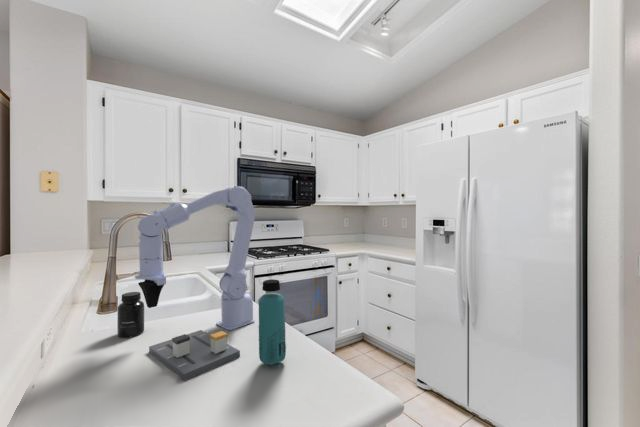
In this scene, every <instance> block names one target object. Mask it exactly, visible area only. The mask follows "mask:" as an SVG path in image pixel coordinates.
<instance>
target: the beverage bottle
mask: <svg viewBox="0 0 640 427" xmlns="http://www.w3.org/2000/svg"><path fill="white" fill-rule="evenodd" d="M280 284H281V282H280V279H266V280H264V281H263V282H262V288H261V289H262V291H263V292H267V293H263V294H262V295H261V296H260V297H259V298H258V300H257V302H258V357H259V361H260V363H263V364H266V365H276V364H280V363H282V362H283V361H284V360H285V358H286V355H287V353H286V352H287V346H286V331H287V329H286V310H285V308H286V307H285V306H286V304H285V301H286V300H285V297H284V296H283V295H282V294H281V293H278V291H279V290H281V286H280Z"/></svg>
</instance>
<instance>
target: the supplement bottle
mask: <svg viewBox="0 0 640 427" xmlns="http://www.w3.org/2000/svg"><path fill="white" fill-rule="evenodd" d="M141 298H142V296H141V292H140V291H131V292H130V291H129V292H126V293H123V294H121V300H120V301H121V303H120V304H119V305H118V306H117V321H116V322H117V326H116V327H117V328H116V329H117V336H118V337H119V338H124V339H127V338H129V339H130V338H134V337H138V336H139V335H142V333H144V331H145V303H144V301H142V300H141Z"/></svg>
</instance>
